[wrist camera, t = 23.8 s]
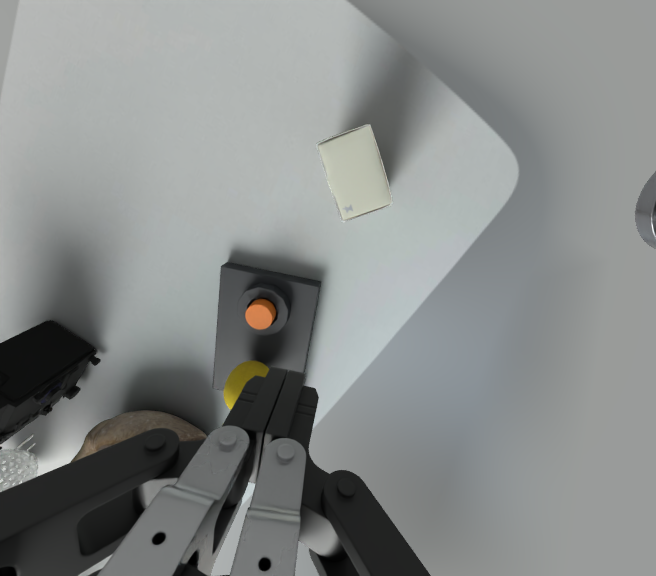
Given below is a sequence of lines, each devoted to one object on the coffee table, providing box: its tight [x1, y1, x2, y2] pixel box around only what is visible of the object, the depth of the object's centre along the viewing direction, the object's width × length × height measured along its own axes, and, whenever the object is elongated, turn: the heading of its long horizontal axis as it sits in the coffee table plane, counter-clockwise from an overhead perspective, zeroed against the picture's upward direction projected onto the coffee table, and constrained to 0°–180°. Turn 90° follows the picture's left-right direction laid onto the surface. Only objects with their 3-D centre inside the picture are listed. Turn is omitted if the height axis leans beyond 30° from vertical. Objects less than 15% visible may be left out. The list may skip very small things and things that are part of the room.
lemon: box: [224, 361, 269, 410], centre depth 40 cm, size 6×6×8 cm
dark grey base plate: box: [213, 262, 321, 391], centre depth 43 cm, size 12×18×4 cm, turn 169°
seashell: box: [71, 410, 207, 462], centre depth 48 cm, size 16×17×15 cm
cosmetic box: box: [316, 124, 393, 222], centre depth 30 cm, size 6×4×12 cm
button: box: [245, 299, 276, 329], centre depth 39 cm, size 3×3×2 cm
